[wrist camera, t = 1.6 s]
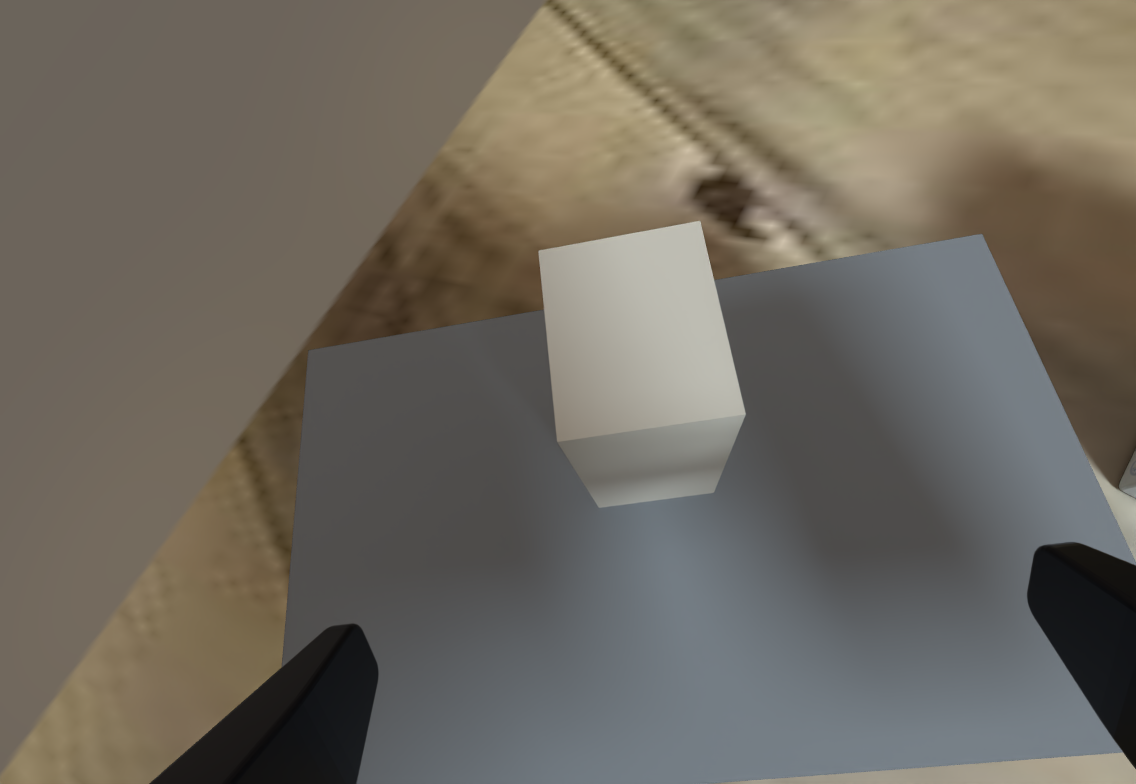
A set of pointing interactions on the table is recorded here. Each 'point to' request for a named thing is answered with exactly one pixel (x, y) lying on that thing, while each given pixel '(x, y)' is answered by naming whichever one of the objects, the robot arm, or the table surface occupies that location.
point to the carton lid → (700, 524)
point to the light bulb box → (1129, 478)
